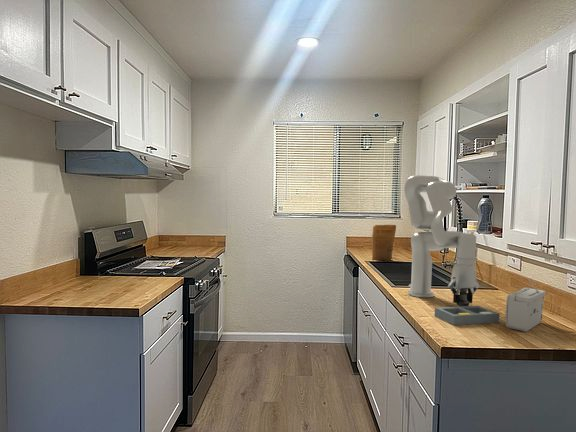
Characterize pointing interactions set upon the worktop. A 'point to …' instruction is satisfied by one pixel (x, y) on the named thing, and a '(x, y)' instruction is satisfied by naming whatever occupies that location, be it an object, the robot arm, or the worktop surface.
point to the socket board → (466, 315)
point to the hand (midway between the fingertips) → (462, 302)
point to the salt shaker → (463, 297)
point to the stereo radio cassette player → (524, 308)
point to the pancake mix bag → (383, 241)
